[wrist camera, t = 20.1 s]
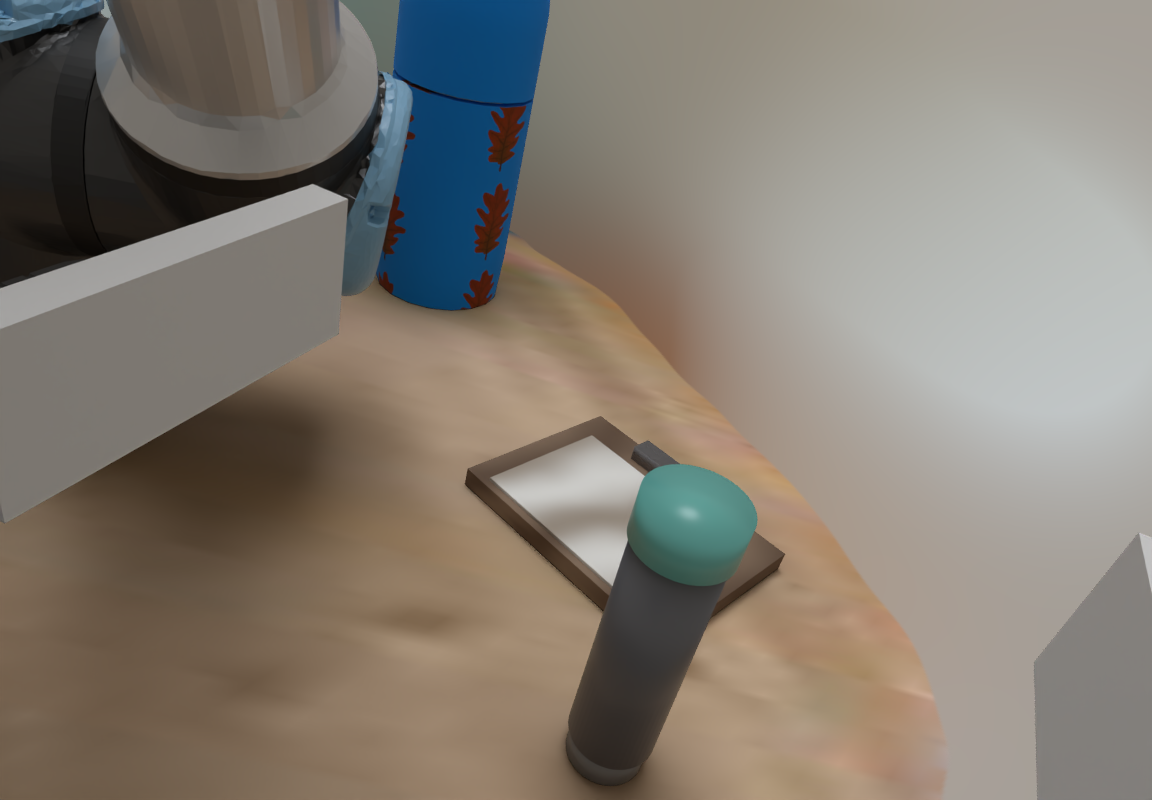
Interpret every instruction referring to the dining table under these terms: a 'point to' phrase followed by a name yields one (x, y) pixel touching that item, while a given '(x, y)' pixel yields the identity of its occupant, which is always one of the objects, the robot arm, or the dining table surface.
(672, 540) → the marker
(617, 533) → the brown picture frame
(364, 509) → the dining table surface
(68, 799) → the dining table surface
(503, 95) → the thermos
